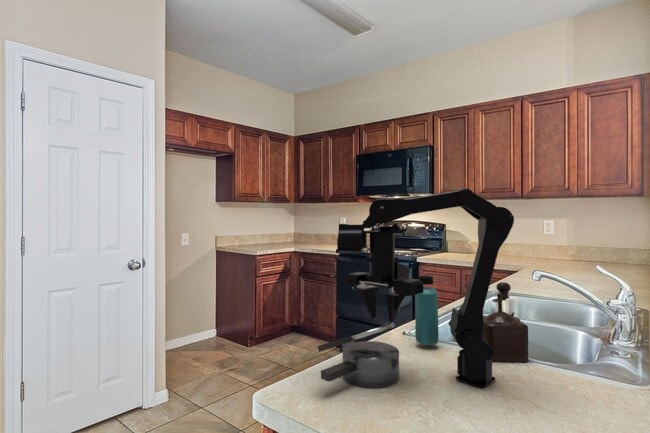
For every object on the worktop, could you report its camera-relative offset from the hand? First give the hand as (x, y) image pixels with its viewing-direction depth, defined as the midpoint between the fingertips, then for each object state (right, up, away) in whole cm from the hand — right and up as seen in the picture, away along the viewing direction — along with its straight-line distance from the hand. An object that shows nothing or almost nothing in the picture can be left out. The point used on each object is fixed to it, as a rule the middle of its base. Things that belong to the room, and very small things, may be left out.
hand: (382, 320), depth 91 cm
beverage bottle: (+15, -13, +20) cm, 28 cm away
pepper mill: (+34, -13, +15) cm, 39 cm away
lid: (-6, -4, -2) cm, 8 cm away
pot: (-6, -13, -2) cm, 15 cm away
